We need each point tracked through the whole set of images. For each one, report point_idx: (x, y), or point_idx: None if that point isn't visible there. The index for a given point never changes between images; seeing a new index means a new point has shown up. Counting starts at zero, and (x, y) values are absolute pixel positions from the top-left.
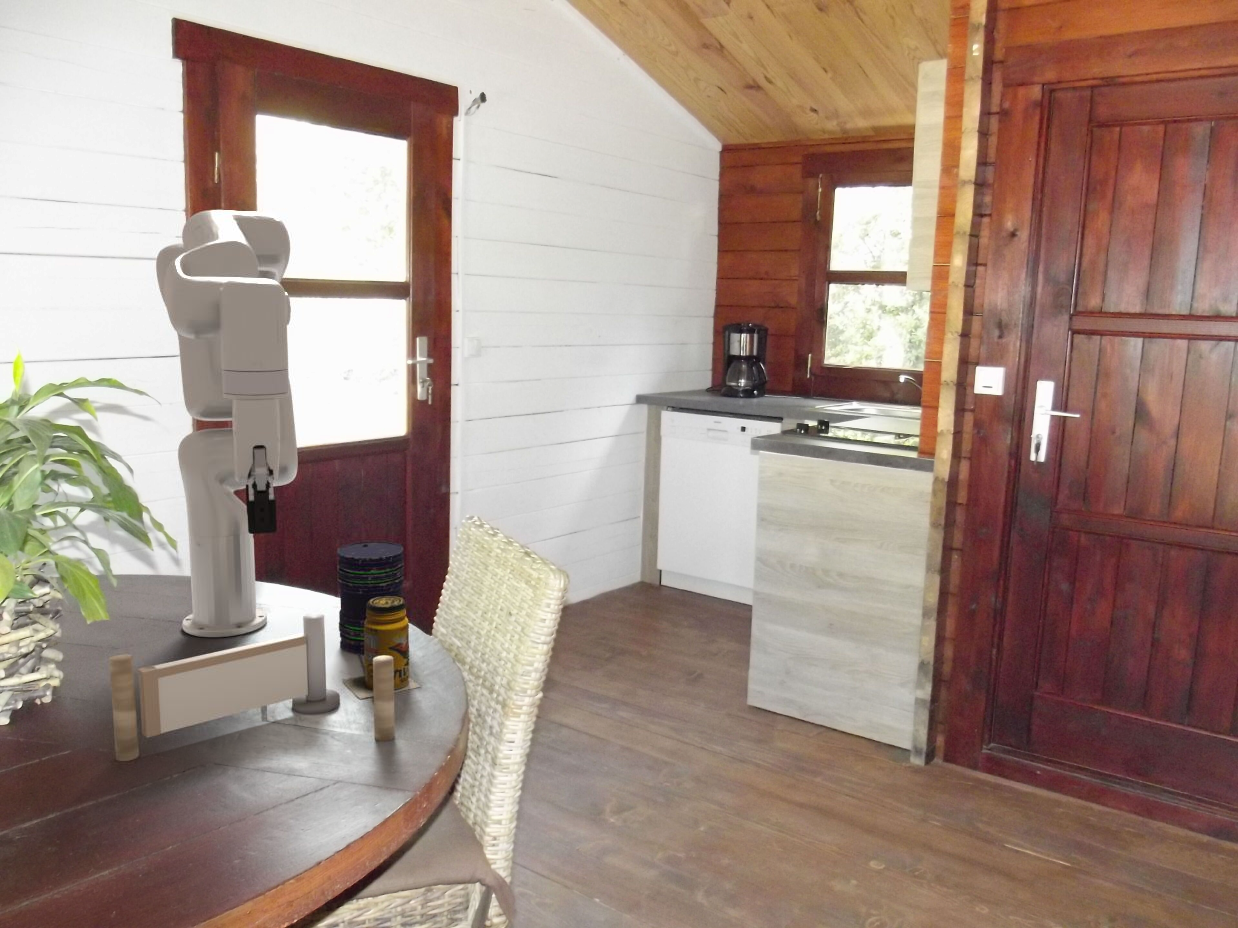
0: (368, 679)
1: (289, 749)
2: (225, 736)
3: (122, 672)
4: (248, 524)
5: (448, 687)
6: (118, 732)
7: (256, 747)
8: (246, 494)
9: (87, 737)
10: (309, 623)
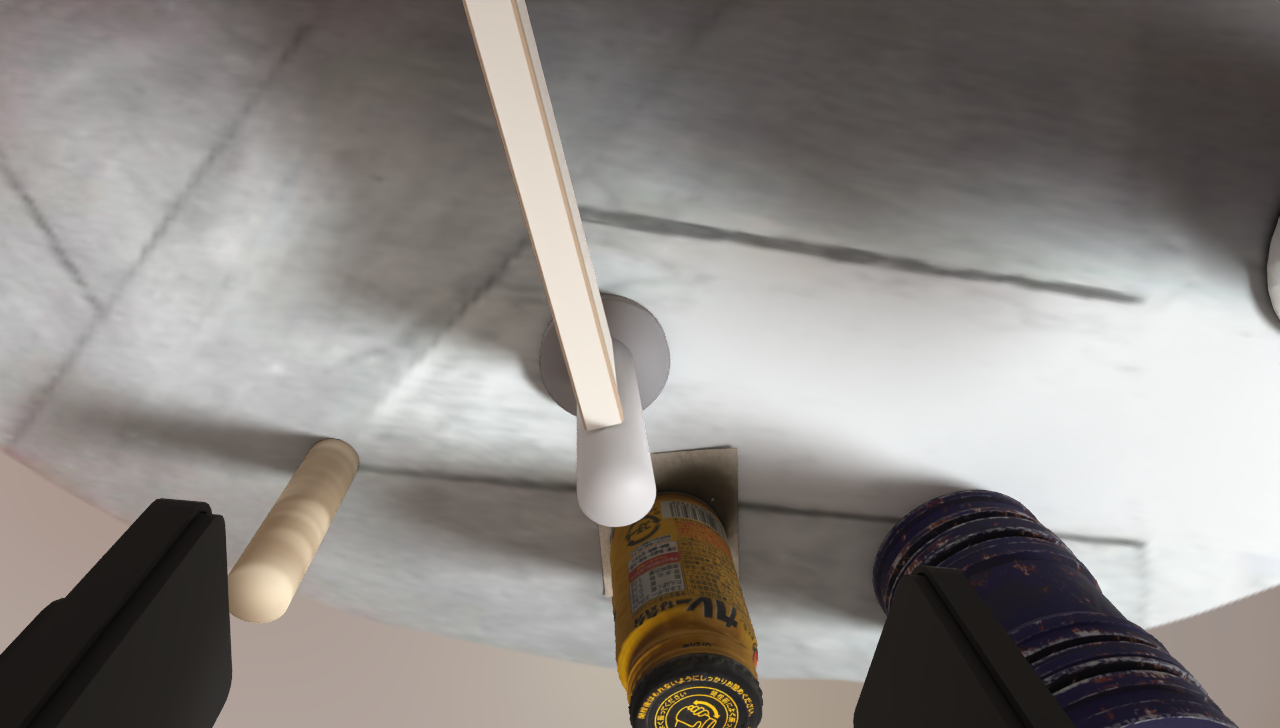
0: (652, 506)
1: (334, 236)
2: None
3: None
4: (118, 546)
5: (574, 647)
6: None
7: (378, 156)
8: (1022, 717)
9: None
10: (585, 465)
